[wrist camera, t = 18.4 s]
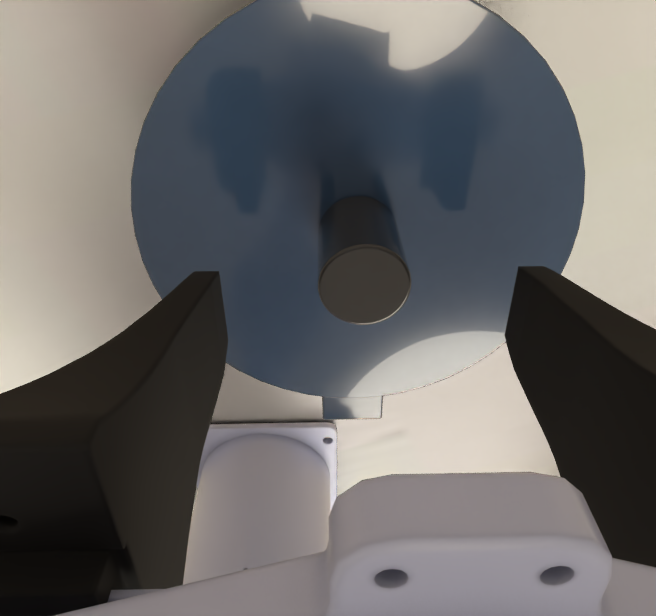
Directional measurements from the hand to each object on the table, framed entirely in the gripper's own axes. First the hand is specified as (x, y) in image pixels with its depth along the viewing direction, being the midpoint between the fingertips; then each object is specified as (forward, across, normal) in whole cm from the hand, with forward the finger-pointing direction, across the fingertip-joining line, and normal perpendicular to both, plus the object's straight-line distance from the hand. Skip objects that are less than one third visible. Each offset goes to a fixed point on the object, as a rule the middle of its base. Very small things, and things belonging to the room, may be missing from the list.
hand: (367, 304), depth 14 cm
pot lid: (+4, 0, 0) cm, 4 cm away
